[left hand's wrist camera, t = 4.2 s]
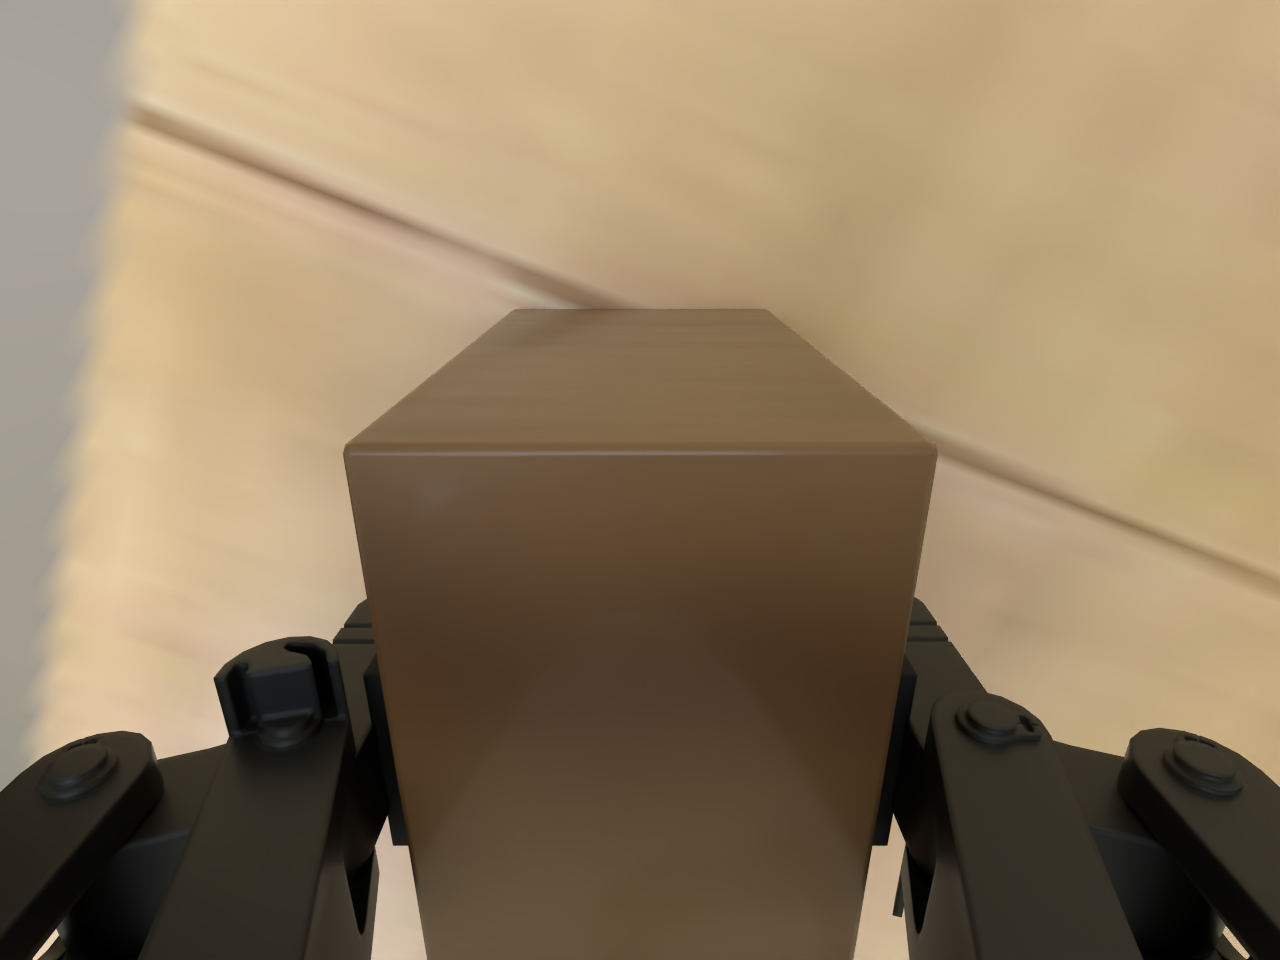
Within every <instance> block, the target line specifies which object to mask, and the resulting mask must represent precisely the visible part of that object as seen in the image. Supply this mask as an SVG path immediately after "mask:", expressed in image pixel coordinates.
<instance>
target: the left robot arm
mask: <svg viewBox="0 0 1280 960" xmlns="http://www.w3.org/2000/svg"><path fill="white" fill-rule="evenodd" d="M936 623H937V622H936V620H935V619H934V618H933V616H932V615H931V613H930V612H929V611H928V609H927V608H926V606H925V605H924V604H923V602H921V601H920V600H918V599H917V598H915V597H914V599H913V605H912V611H911V617H910V623H909V629H908V635H907V641H906V647H905V653H904V659H903V665H902V671H901V677H900V682H899V688H898V694H897V700H896V706H895V712H894V718H893V724H892V730H891V736H890V742H889V748H888V754H887V760H886V766H885V772H884V778H883V784H882V790H881V796H880V802H879V808H878V814H877V820H876V826H875V832H874V838H873V844H872V846H887V845H888V839H889V833H890V828H891V822H892V816H893V813H894V816H895V818H896V820H897V823H898V825H899V828H900V830H901V832H902V835H903V837H904V840H905V842H906V844H905V850H904V855H903V860H902V865H901V871H900V876H899V881H898V886H897V892H896V897H895V903H894V909H893V915H894V916H898V917H902V913H903V908H904V910H905V920H906V930H907V940H908V950H909V960H1280V787H1279V786H1278V785H1277V784H1276V783H1274V782H1273V781H1272V780H1271V779H1270V778H1269V777H1268V776H1267V775H1266V774H1265V773H1264V772H1263V771H1261V770H1260V769H1259V768H1257V767H1256V766H1255V765H1253V764H1252V763H1251V762H1249V761H1248V760H1247V759H1245V758H1244V757H1243V756H1241V755H1240V754H1238V753H1236V752H1234V751H1232V750H1230V749H1228V748H1226V747H1224V746H1223V745H1221V744H1219V743H1217V742H1215V741H1213V740H1210V739H1208V738H1205V737H1202V736H1198V735H1196V734H1192V733H1188V732H1185V731H1179V730H1172V729H1164V728H1156V729H1149V730H1142V731H1140V732H1139V733H1137V734H1136V735H1135V736H1134V737H1132V738H1131V739H1130V742H1129V745H1128V748H1127V751H1126V754H1125V757H1121V756H1116V755H1112V754H1107V753H1103V752H1098V751H1094V750H1089V749H1084V748H1080V747H1075V746H1071V745H1067V744H1064V743H1060V742H1057V741H1053V740H1052V737H1051V735H1050V734H1049V732H1048V731H1047V729H1046V728H1045V726H1044V725H1043V724H1042V722H1041V721H1040V720H1039V719H1038V718H1037V717H1035V716H1034V715H1033V714H1031V713H1030V712H1029V711H1028V710H1026V709H1025V708H1024V707H1022V706H1020V705H1018V704H1016V703H1014V702H1012V701H1010V700H1008V699H1005V698H1003V697H1001V696H997V695H993V694H989V693H987V691H986V690H985V689H984V687H983V686H982V684H981V683H980V682H979V680H978V679H977V678H976V676H975V675H974V673H973V672H972V671H971V669H970V668H969V666H968V665H967V664H966V662H965V661H964V659H963V658H962V657H961V655H960V654H959V652H958V651H957V650H956V648H955V647H954V645H953V644H952V643H951V642H948V637H947V636H946V634H945V633H944V631H943V630H942V629H941V627H940V626H937V624H936ZM214 682H215V686H216V689H217V693H218V697H219V700H220V704H221V708H222V711H223V715H224V718H225V722H226V726H227V729H228V733H229V738H228V741H227V743H226V744H223V745H220V746H216V747H213V748H209V749H205V750H200V751H196V752H191V753H186V754H182V755H177V756H173V757H168V758H164V759H159V760H157V758H156V755H155V752H154V749H153V746H152V743H151V741H149V740H148V739H147V738H146V737H144V736H143V735H142V734H140V733H134V732H127V731H117V732H109V733H101V734H96V735H93V736H89V737H85V738H84V739H79V740H77V741H74V742H71V743H69V744H67V745H65V746H63V747H61V748H59V749H57V750H55V751H53V752H51V753H49V754H47V755H45V756H43V757H42V758H41V759H39V760H38V761H37V762H35V763H34V764H33V765H31V766H30V767H29V768H27V769H26V770H25V771H23V772H22V773H21V774H19V775H18V776H17V777H16V778H15V779H14V780H13V781H12V782H11V783H10V784H9V785H8V786H6V787H5V788H4V789H3V790H2V791H1V792H0V960H33V959H32V958H33V957H34V956H35V955H36V953H37V952H38V951H39V949H40V948H41V947H42V946H43V944H44V943H45V942H46V941H47V939H48V938H49V937H50V936H51V934H52V933H53V932H54V931H55V929H57V931H58V933H59V936H58V938H57V939H56V940H55V941H54V943H53V944H52V945H51V946H50V948H49V949H48V950H47V951H46V952H45V953H44V954H43V955H42V956H41V957H40V958H39V959H38V960H371V952H372V942H373V932H374V922H375V912H376V902H377V892H378V882H379V867H378V861H377V855H376V850H375V844H376V842H377V839H378V837H379V835H380V832H381V830H382V827H383V825H384V823H385V820H386V818H387V815H388V820H389V825H390V831H391V837H392V842H393V846H408V840H407V834H406V828H405V822H404V816H403V810H402V804H401V798H400V792H399V786H398V780H397V774H396V768H395V762H394V756H393V750H392V744H391V738H390V732H389V726H388V720H387V714H386V708H385V702H384V696H383V690H382V684H381V678H380V672H379V666H378V660H377V654H376V648H375V642H374V636H373V630H372V624H371V618H370V612H369V606H368V600H367V599H366V600H364V601H363V602H361V603H360V604H359V605H357V607H356V608H355V610H354V611H353V613H352V614H351V615H350V617H349V618H348V620H347V621H346V622H345V624H344V628H341V629H340V631H339V632H338V634H337V635H336V636H335V638H334V639H333V644H331V643H330V642H329V641H327V640H324V639H320V638H315V637H311V636H304V637H287V638H282V639H278V640H274V641H269V642H265V643H263V644H260V645H258V646H256V647H253V648H251V649H249V650H246V651H244V652H242V653H241V654H239V655H238V656H236V657H235V658H233V659H232V660H230V661H229V662H227V663H226V664H225V665H224V666H223V667H222V668H221V670H220V671H219V672H218V673H217V674H216V676H215V677H214ZM1225 926H1227V927H1228V929H1229V930H1230V931H1231V932H1232V934H1233V935H1234V936H1235V937H1236V939H1237V940H1238V941H1239V942H1240V944H1241V945H1242V946H1243V947H1244V949H1245V950H1246V951H1247V952H1248V954H1249V955H1250V957H1249V958H1248V959H1245V958H1244V957H1243V956H1242V955H1241V954H1240V953H1239V952H1238V951H1237V950H1236V949H1235V948H1234V947H1233V946H1232V944H1231V943H1230V942H1229V941H1228V939H1227V938H1226V937H1225V935H1224V934H1223V930H1224V928H1225Z"/></svg>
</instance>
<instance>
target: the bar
mask: <svg viewBox="0 0 1280 960" xmlns="http://www.w3.org/2000/svg"><path fill="white" fill-rule="evenodd" d="M937 454H938V453H937V449H936V445H935V444H934V443H932V442H931V441H930V440H929V439H927V438H926V437H925V436H924V435H922V434H921V433H920V432H919V431H917V430H916V429H915V428H914V427H912V426H911V425H910V424H909V423H907V422H906V421H905V420H904V419H902V418H901V417H900V416H899V415H897V414H896V413H895V412H894V411H892V410H891V409H890V408H889V407H887V406H886V405H885V404H884V403H882V402H881V401H880V400H879V399H877V398H876V397H875V396H874V395H872V394H871V393H870V392H869V391H867V390H866V389H865V388H864V387H862V386H861V385H860V384H859V383H857V382H856V381H855V380H854V379H852V378H851V377H850V376H849V375H847V374H846V373H845V372H844V371H842V370H841V369H840V368H839V367H837V366H836V365H835V364H834V363H832V362H831V361H830V360H829V359H827V358H826V357H825V356H824V355H822V354H821V353H820V352H819V351H817V350H816V349H815V348H814V347H812V346H811V345H810V344H809V343H807V342H806V341H805V340H804V339H802V338H801V337H800V336H799V335H797V334H796V333H795V332H794V331H792V330H791V329H790V328H789V327H787V326H786V325H785V324H784V323H782V322H781V321H780V320H779V319H777V318H776V317H775V316H774V315H772V314H771V313H770V312H769V311H767V310H514V311H512V312H510V313H509V314H508V315H507V316H505V317H504V318H503V319H502V320H500V321H499V322H498V323H497V324H495V325H494V326H493V327H492V328H491V329H489V330H488V331H487V332H486V333H484V334H483V335H482V336H481V337H479V338H478V339H477V340H476V341H474V342H473V343H472V344H471V345H469V346H468V347H467V348H466V349H464V350H463V351H462V352H461V353H459V354H458V355H457V356H456V357H454V358H453V359H452V360H451V361H449V362H448V363H447V364H446V365H444V366H443V367H442V368H441V369H439V370H438V371H437V372H436V373H434V374H433V375H432V376H431V377H429V378H428V379H427V380H426V381H424V382H423V383H422V384H421V385H419V386H418V387H417V388H416V389H414V390H413V391H412V392H411V393H409V394H408V395H407V396H406V397H404V398H403V399H402V400H401V401H399V402H398V403H397V404H396V405H394V406H393V407H392V408H391V409H390V410H388V411H387V412H386V413H385V414H383V415H382V416H381V417H380V418H378V419H377V420H376V421H375V422H373V423H372V424H371V425H370V426H368V427H367V428H366V429H365V430H363V431H362V432H361V433H360V434H358V435H357V436H356V437H355V438H353V439H352V440H351V441H350V442H348V443H347V444H346V445H345V448H344V452H343V456H344V462H345V468H346V474H347V480H348V486H349V492H350V498H351V504H352V510H353V516H354V522H355V528H356V534H357V540H358V546H359V552H360V558H361V564H362V570H363V576H364V582H365V588H366V594H367V600H368V606H369V612H370V618H371V624H372V630H373V636H374V642H375V648H376V654H377V660H378V666H379V672H380V678H381V684H382V690H383V696H384V702H385V708H386V714H387V720H388V726H389V732H390V738H391V744H392V750H393V756H394V762H395V768H396V774H397V780H398V786H399V792H400V798H401V804H402V810H403V816H404V822H405V828H406V834H407V840H408V846H409V852H410V858H411V864H412V870H413V876H414V882H415V888H416V894H417V900H418V906H419V912H420V918H421V924H422V930H423V936H424V942H425V948H426V954H427V960H853V958H854V952H855V946H856V940H857V934H858V928H859V922H860V916H861V910H862V904H863V898H864V892H865V886H866V880H867V874H868V868H869V862H870V856H871V850H872V844H873V838H874V832H875V826H876V820H877V814H878V808H879V802H880V796H881V790H882V784H883V778H884V772H885V766H886V760H887V754H888V748H889V742H890V736H891V730H892V724H893V718H894V712H895V706H896V700H897V694H898V688H899V682H900V677H901V671H902V665H903V659H904V653H905V647H906V641H907V635H908V629H909V623H910V617H911V611H912V605H913V599H914V593H915V587H916V581H917V575H918V569H919V563H920V557H921V551H922V545H923V539H924V533H925V527H926V521H927V515H928V509H929V503H930V497H931V491H932V485H933V479H934V473H935V467H936V461H937Z"/></svg>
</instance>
